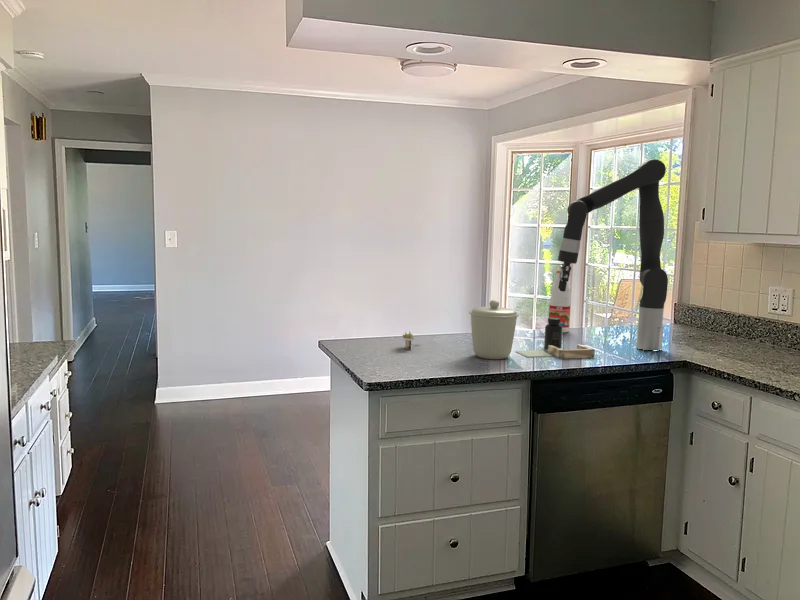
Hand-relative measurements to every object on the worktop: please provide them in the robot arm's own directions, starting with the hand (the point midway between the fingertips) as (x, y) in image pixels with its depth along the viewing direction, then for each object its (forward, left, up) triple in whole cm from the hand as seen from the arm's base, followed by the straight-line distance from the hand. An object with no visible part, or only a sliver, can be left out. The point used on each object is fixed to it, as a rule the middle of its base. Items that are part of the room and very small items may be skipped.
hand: (561, 290), depth 269 cm
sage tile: (+1, +24, -23) cm, 33 cm away
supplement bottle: (0, +7, -23) cm, 24 cm away
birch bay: (-11, +16, -23) cm, 30 cm away
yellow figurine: (+43, +47, -23) cm, 68 cm away
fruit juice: (+13, -33, -23) cm, 42 cm away
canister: (+11, +39, -23) cm, 46 cm away
